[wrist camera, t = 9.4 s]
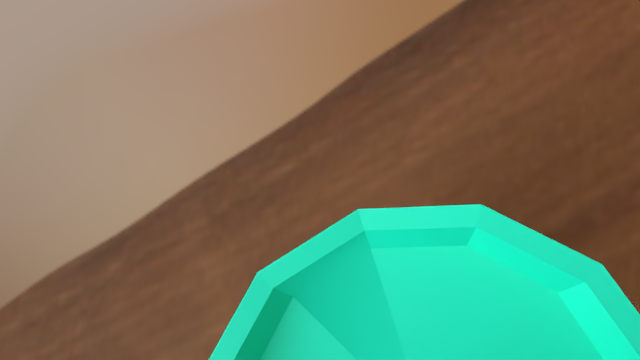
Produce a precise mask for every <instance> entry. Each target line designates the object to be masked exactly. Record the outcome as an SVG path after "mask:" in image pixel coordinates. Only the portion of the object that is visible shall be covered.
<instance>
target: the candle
mask: <svg viewBox="0 0 640 360" xmlns="http://www.w3.org/2000/svg"><path fill="white" fill-rule="evenodd" d="M209 360H640V315H639V313H638V312H637V310H636V309H635V308H634V306H633V305H632V304H631V302H630V301H629V300H628V298H627V297H626V296H625V294H624V293H623V292H622V290H621V289H620V287H619V286H618V285H617V283H616V282H615V281H614V279H613V278H612V277H611V275H610V274H609V273H608V271H607V270H606V269H605V267H604V266H603V264H601V263H599V262H597V261H594V260H592V259H590V258H588V257H586V256H584V255H582V254H580V253H578V252H576V251H574V250H572V249H570V248H568V247H566V246H564V245H562V244H560V243H558V242H556V241H554V240H552V239H550V238H548V237H546V236H544V235H542V234H540V233H538V232H536V231H534V230H532V229H530V228H528V227H526V226H524V225H522V224H520V223H518V222H516V221H514V220H512V219H510V218H508V217H506V216H504V215H502V214H500V213H498V212H496V211H494V210H492V209H490V208H488V207H486V206H484V205H482V204H475V205H450V206H426V207H401V208H376V209H357V210H356V211H354V212H353V213H351V214H349V215H348V216H346V217H345V218H343V219H341V220H340V221H338V222H337V223H335V224H333V225H332V226H330V227H329V228H327V229H326V230H324V231H322V232H321V233H319V234H318V235H316V236H314V237H313V238H311V239H310V240H308V241H306V242H305V243H303V244H302V245H300V246H299V247H297V248H295V249H294V250H292V251H291V252H289V253H287V254H286V255H284V256H283V257H281V258H279V259H278V260H276V261H275V262H273V263H271V264H270V265H268V266H267V267H265V268H264V269H262V270H260V271H259V272H257V274H256V276H255V278H254V280H253V281H252V283H251V285H250V287H249V289H248V290H247V292H246V294H245V296H244V297H243V299H242V301H241V303H240V305H239V306H238V308H237V310H236V312H235V314H234V315H233V317H232V319H231V321H230V323H229V324H228V326H227V328H226V330H225V331H224V333H223V335H222V337H221V339H220V340H219V342H218V344H217V346H216V348H215V349H214V351H213V353H212V355H211V357H210V358H209Z"/></svg>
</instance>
